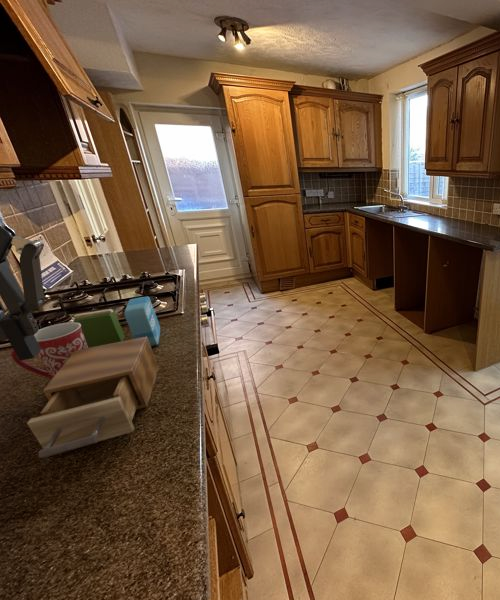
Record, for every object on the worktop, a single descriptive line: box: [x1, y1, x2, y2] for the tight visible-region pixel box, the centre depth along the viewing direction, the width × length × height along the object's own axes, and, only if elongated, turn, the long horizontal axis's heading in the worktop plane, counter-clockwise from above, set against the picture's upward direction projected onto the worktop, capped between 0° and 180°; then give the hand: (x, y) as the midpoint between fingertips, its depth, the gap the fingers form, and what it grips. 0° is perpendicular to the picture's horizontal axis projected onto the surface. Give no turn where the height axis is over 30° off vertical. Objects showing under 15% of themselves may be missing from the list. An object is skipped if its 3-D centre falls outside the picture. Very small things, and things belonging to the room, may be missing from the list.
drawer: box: [26, 375, 139, 460], centre depth 62 cm, size 21×12×8 cm, turn 26°
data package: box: [123, 295, 161, 347], centre depth 94 cm, size 12×4×12 cm, turn 31°
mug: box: [10, 321, 88, 380], centre depth 76 cm, size 13×9×14 cm
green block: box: [72, 308, 126, 348], centre depth 93 cm, size 4×8×10 cm, turn 117°
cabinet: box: [42, 337, 160, 411], centre depth 72 cm, size 16×14×10 cm
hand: (31, 354), depth 49 cm, fingers closed
